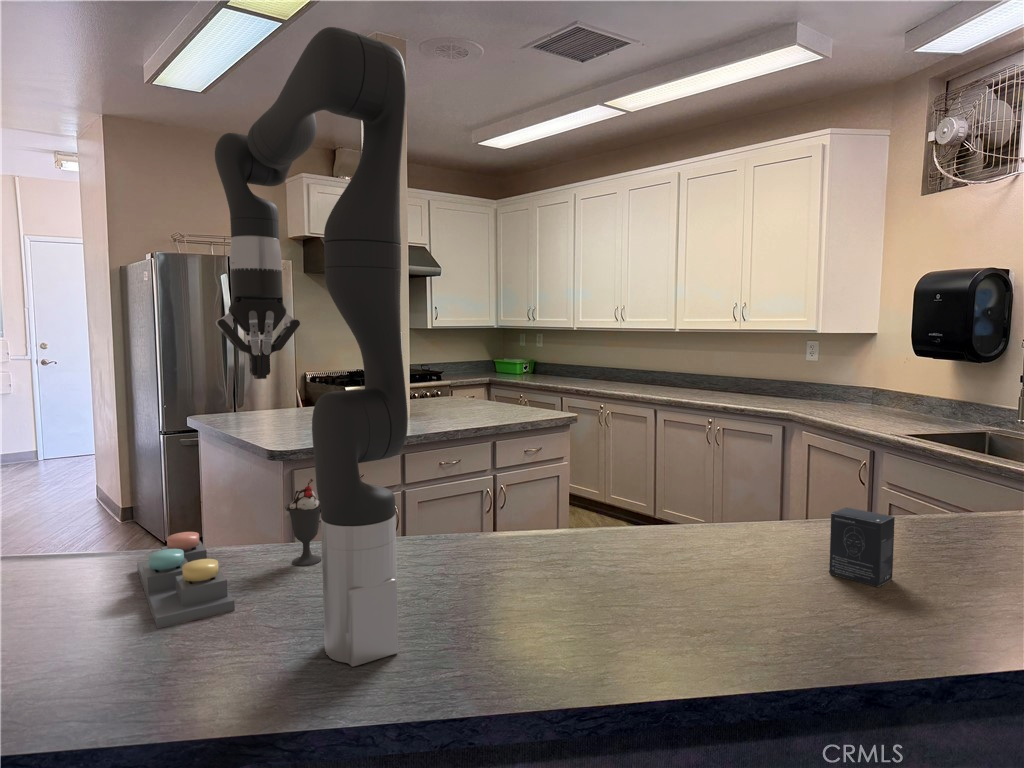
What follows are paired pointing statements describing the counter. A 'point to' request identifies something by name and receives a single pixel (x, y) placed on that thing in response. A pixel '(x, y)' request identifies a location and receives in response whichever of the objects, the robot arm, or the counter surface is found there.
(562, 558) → the counter surface
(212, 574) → the button ochre
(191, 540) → the salmon orange dome button
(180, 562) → the button teal
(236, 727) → the counter surface
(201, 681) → the counter surface
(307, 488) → the sundae
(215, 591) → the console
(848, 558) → the box
